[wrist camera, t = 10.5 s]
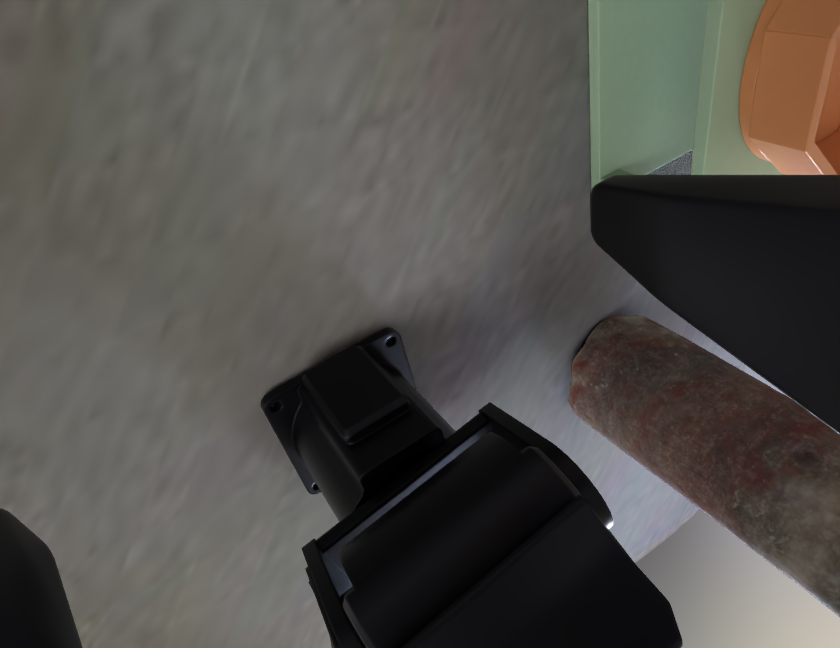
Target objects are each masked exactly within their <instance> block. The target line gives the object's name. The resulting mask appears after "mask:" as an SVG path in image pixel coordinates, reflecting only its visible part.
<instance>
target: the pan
mask: <svg viewBox="0 0 840 648" xmlns="http://www.w3.org/2000/svg"><path fill="white" fill-rule="evenodd" d="M739 118H740V127H741V131H742V135H743V138H744V140H745V143H746V145H747V146H748V148H749V149H750V151H751V152H752V153H753V154H754V155H756V156H757V157H758V158H761V159H763V160H766V161H769V162H771V163H772V164H773V165H774V166H775V167H776V168H777V170H778V171H779V172H780V173H782V174H785V175H840V0H767V1H766V3H765V5H764V7H763V9H762V12H761V14H760V17H759V19H758V22H757V24H756V27H755V29H754V32H753V35H752V38H751V42H750V45H749V48H748V51H747V55H746V59H745V63H744V68H743V73H742V79H741V85H740V95H739Z"/></svg>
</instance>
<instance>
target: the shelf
mask: <svg viewBox="0 0 840 648" xmlns="http://www.w3.org/2000/svg"><path fill="white" fill-rule="evenodd" d="M766 1H767V0H588V24H589V84H590V144H591V191H592V188H593V187H594V186H595V185H596V184H598V183H600V182H601V181H603V180H605V179H607V178H609V177H611V176H614V175H647V174H649V173H650V172H652V171H654V170H656V169H658V168H660V167H661V166H663V165H665V164H667V163H669V162H670V161H672V160H674V159H676V158H678V157H679V156H681V155H683V154H685V153H687V152H689V151H690V150H692V149H693V155H692V165H691V175H785V174H782V173H780V172H779V171H778V170H777V168H776V167H775V166H774V165H773V164H772V163H771V162H769V161H766V160H763V159H761V158H758V157H757V156H756V155H754V154H753V153H752V152H751V151H750V149H749V148H748V146H747V145H746V143H745V140H744V138H743V135H742V131H741V127H740V118H739V95H740V85H741V79H742V73H743V68H744V63H745V59H746V55H747V51H748V48H749V45H750V42H751V38H752V35H753V32H754V29H755V27H756V24H757V22H758V19H759V17H760V14H761V12H762V9H763V7H764V5H765V3H766Z"/></svg>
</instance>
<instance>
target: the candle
mask: <svg viewBox="0 0 840 648" xmlns="http://www.w3.org/2000/svg"><path fill="white" fill-rule="evenodd" d="M571 376H572V380H571V384H570V394H569V404H570V405H571V407H572V410H573V412H574V413H575V414H576V415H577V416H578V417H579V418H580V419H582V420H583V421H584V422H585V423H587V424H588V425H589V426H591V427H592V428H593V429H595V430H596V431H597V432H599V433H600V434H601V435H603V436H604V437H605V438H607V439H608V440H609V441H610V442H612V443H613V444H614V445H616V446H617V447H618V448H619V449H621V450H622V451H623V452H625V453H626V454H627V455H629V456H630V457H631V458H633V459H634V460H635V461H637V462H638V463H639V464H641V465H642V466H643V467H645V468H646V469H647V470H649V471H650V472H651V473H653V474H654V475H655V476H657V477H658V478H659V479H661V480H662V481H664V482H665V483H666V484H668V485H669V486H671V487H672V488H673V489H674V490H676V491H677V492H678V493H680V494H681V495H682V496H683V497H685V498H686V499H687V500H688V501H690V502H691V503H692V504H694V505H695V506H696V507H698V508H699V509H701V510H702V511H703V512H705V513H706V514H707V515H709V516H710V517H711V518H713V519H714V520H715V521H717V522H718V523H719V524H720V525H722V526H723V527H724V528H726V529H727V530H728V531H729V532H731V533H732V534H733V535H734V536H736V537H737V538H738V539H740V540H741V541H742V542H743V543H745V544H746V545H747V546H749V547H750V548H751V549H752V550H754V551H755V552H757V553H758V554H759V555H760V556H762V557H763V558H764V559H766V560H767V561H768V562H769V563H771V564H772V565H773V566H775V567H776V568H777V569H778V570H780V571H781V572H783V573H784V574H785V575H786V576H788V577H789V578H791V579H792V580H794V581H795V582H796V583H797V584H799V585H800V586H801V587H803V588H804V589H805V590H806V591H808V592H809V593H810V594H811V595H813V596H814V597H815V598H816V599H818V600H819V601H820V602H821V603H823V604H824V605H825V606H826V607H828V608H829V609H830V610H831V611H833V612H834V613H835V614H837V615H838V616H839V617H840V434H839V433H837V432H836V431H835V430H833V429H832V428H830V427H829V426H828V425H826V424H825V423H824V422H822V421H821V420H820V419H818V418H817V417H816V416H814V415H813V414H811V413H810V412H809V411H807V410H806V409H805V408H803V407H802V406H801V405H799V404H798V403H797V402H795V401H794V400H792V399H790V398H789V397H787V396H786V395H784V394H782V393H780V392H778V391H776V390H774V389H773V388H771V387H770V386H768V385H766V384H764V383H763V382H761V381H759V380H757V379H755V378H754V377H752V376H750V375H748V374H747V373H745V372H743V371H742V370H740V369H738V368H736V367H735V366H733V365H731V364H729V363H727V362H726V361H724V360H722V359H721V358H719V357H717V356H716V355H714V354H712V353H710V352H708V351H707V350H705V349H703V348H701V347H699V346H698V345H696V344H694V343H692V342H691V341H689V340H687V339H686V338H684V337H682V336H680V335H678V334H676V333H674V332H673V331H671V330H669V329H667V328H665V327H663V326H661V325H659V324H658V323H656V322H654V321H652V320H650V319H648V318H646V317H642V316H628V317H623V316H622V317H615V316H614V317H611V318H609V319H606V320H604V321H602V322H601V323H600V324H599V325H597V326H596V328H595V329H594V330H593V331H592V332H591V334H590V335H589V337H588V338H587V340H586V342H585V345H584V346H583V347H582V349H581V350H580V351H579V352H578V354H577V355H576V357H575V358H574V360H573V362H572V368H571Z"/></svg>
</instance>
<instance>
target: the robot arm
mask: <svg viewBox="0 0 840 648" xmlns="http://www.w3.org/2000/svg"><path fill="white" fill-rule="evenodd" d="M590 218H591V234H592V237H593V239H594V241H595V242H596V243H597V245H598V246H599V247H601V248H602V249H603V250H604V251H605V252H606V253H607V254H608V255H609V256H610V257H612V258H613V259H614V260H615V261H616V262H617V263H618V264H619V265H620V266H621V267H623V268H624V269H625V270H626V271H627V272H628V273H629V274H630V275H631V276H632V277H634V278H635V279H636V280H637V281H638V282H639V283H640V284H641V285H642V286H643V287H645V288H646V289H647V290H648V291H649V292H650V293H651V294H652V295H654V296H655V297H656V298H657V299H658V300H659V301H661V302H662V303H663V304H664V305H666V306H667V307H668V308H669V309H671V310H672V311H673V312H675V313H676V314H678V315H679V316H680V317H682V318H683V319H684V320H686V321H687V322H688V323H690V324H691V325H692V326H694V327H695V328H696V329H698V330H699V331H701V332H702V333H703V334H705V335H706V336H707V337H709V338H710V339H711V340H713V341H714V342H715V343H717V344H718V345H719V346H721V347H722V348H724V349H725V350H726V351H728V352H729V353H730V354H732V355H733V356H734V357H736V358H737V359H738V360H740V361H741V362H742V363H744V364H745V365H747V366H748V367H749V368H751V369H752V370H753V371H755V372H756V373H757V374H759V375H760V376H761V377H763V378H764V379H765V380H767V381H768V382H770V383H771V384H772V385H774V386H775V387H776V388H778V389H779V390H781V391H782V392H783V393H785V394H786V395H787V396H788V397H790V398H791V399H793V400H794V401H795V402H797V403H798V404H799V405H801V406H802V407H803V408H805V409H806V410H807V411H809V412H810V413H811V414H813V415H814V416H816V417H817V418H818V419H820V420H821V421H822V422H824V423H825V424H826V425H828V426H829V427H830V428H832V429H833V430H835V431H836V432H837V433H839V434H840V175H614V176H611V177H609V178H607V179H605V180H603V181H601V182H600V183H598V184H596V185H595V186H594V187H593V188H592V191H591V193H590ZM389 337H391V339H390V340H389V341H388V342H386V341H387V339H388V338H389ZM274 402H278V403H277V404H276V405H275V406H272V407H270V406H271V405H272V404H273V403H274ZM261 407H262V409H263V411H264V413H265V415H266V417H267V418H268V420H269V422H270V424H271V426H272V428H273V429H274V431H275V433H276V435H277V437H278V438H279V440H280V442H281V444H282V446H283V447H284V449H285V451H286V453H287V455H288V457H289V458H290V460H291V462H292V464H293V466H294V467H295V469H296V471H297V473H298V475H299V477H300V478H301V480H302V482H303V484H304V486H305V487H306V489H307V491H308V492H309V493H310V494H317V493H320V492H322V494H323V495H324V497H325V499H326V500H327V502H328V504H329V505H330V507H331V509H332V510H333V512H334V514H335V515H336V517H337V519H338V520H339V523H338V524H336V525H335V526H334V527H332V528H331V529H330V530H329V531H327V532H326V533H325V534H323V535H322V536H321V537H320V538H318V539H317V540H316V539H313V540H312V541H310V542H309V543H308V544H306V545H305V546H304V547H303V548H302V551H303V554H304V556H305V559H306V562H307V564H308V567H307V568H306V572H307V575H308V577H309V580H310V581H309V584H310V586H311V588H312V590H313V592H314V594H315V597H316V599H317V602H318V605H319V607H320V610H321V613H322V616H323V618H324V621H325V624H326V627H327V629H328V632H329V635H330V640H331V646H332V648H682V638H681V635H680V632H679V629H678V626H677V623H676V620H675V617H674V614H673V611H672V608H671V605H670V603H669V602H668V600H667V599H666V598H665V597H664V595H663V594H662V593H661V592H660V591H659V590H658V589H657V588H656V587H655V585H654V584H653V583H652V582H651V581H650V580H649V579H648V578H647V577H646V575H645V574H643V572H642V571H641V570H640V569H639V568H638V567H637V565H636V564H635V563H634V562H633V560H632V559H631V558H630V557H629V555H628V554H627V553H626V551H625V550H624V549H623V548H622V546H621V545H620V544H619V542H618V541H617V540H616V538H615V537H614V536H613V535H612V533H611V532H610V531H609V528H610V527H611V526H612V525H613V518H612V515H611V512H610V510H609V508H608V506H607V504H606V502H605V501H604V499H603V498H602V496H601V495H600V493H599V492H598V490H597V489H596V488H595V486H594V485H593V484H592V482H591V481H590V480H589V478H588V477H587V476H586V475H585V474H584V473H583V471H582V470H581V469H580V468H579V467H578V466H577V465H576V464H575V463H574V462H573V461H572V460H571V459H570V458H569V457H568V456H567V455H566V454H565V453H564V452H563V451H562V450H560V449H559V448H558V447H557V446H555V445H554V444H553V443H551V442H550V441H548V440H547V439H545V438H544V437H542V436H541V435H539V434H538V433H536V432H535V431H533V430H532V429H530V428H529V427H527V426H525V425H524V424H522V423H521V422H519V421H518V420H516V419H515V418H513V417H512V416H510V415H509V414H507V413H506V412H504V411H503V410H501V409H499V408H498V407H496V406H495V405H493V404H492V403H490V402H489V403H488V404H487V405H485V406H484V407H483V408H481V409H480V410H479V414H478V415H476V416H475V417H474V418H472V419H471V420H470V421H469V422H467V423H466V424H465V425H463V426H462V427H461V428H460V429H458V430H457V431H455V430H454V429H453V428H452V427H451V426H450V425H449V424H448V423H447V422H446V421H445V420H444V419H443V418H442V417H441V416H440V414H439V413H438V412H437V411H436V410H435V409H434V408H433V407H432V406H431V405H430V404H429V403H428V402H427V401H426V400H425V399H424V398H423V397H422V396H421V395H420V393H419V392H418V391H417V390H416V387H415V384H414V380H413V377H412V373H411V370H410V367H409V363H408V360H407V356H406V353H405V350H404V346H403V343H402V339H401V336H400V335H399V333H398V332H397V331H396V330H395V329H393V328H389V327H388V328H385V329H383V330H381V331H379V332H377V333H375V334H374V335H372V336H370V337H368V338H366V339H365V340H363V341H361V342H359V343H358V344H356V345H354V346H352V347H350V348H349V349H347V350H345V351H343V352H341V353H340V354H338V355H336V356H334V357H332V358H331V359H329V360H327V361H325V362H323V363H322V364H320V365H318V366H316V367H314V368H313V369H311V370H309V371H307V372H305V373H304V374H302V375H300V376H298V377H296V378H295V379H293V380H291V381H289V382H287V383H286V384H284V385H282V386H280V387H278V388H277V389H275V390H273V391H271V392H270V393H268V394H267V395H265V396H264V397H263V399H262V401H261ZM0 648H82V645H81V641H80V638H79V635H78V632H77V629H76V625H75V622H74V619H73V616H72V613H71V610H70V606H69V603H68V600H67V597H66V594H65V591H64V587H63V584H62V581H61V578H60V575H59V571H58V568H57V565H56V562H55V559H54V557H53V555H52V553H51V551H50V549H49V548H48V546H47V545H46V544H45V543H44V542H43V541H42V540H41V539H40V538H38V537H37V536H36V535H35V534H34V533H33V532H32V531H30V530H29V529H28V528H27V527H26V526H25V525H24V524H22V523H21V522H20V521H19V520H18V519H17V518H16V517H14V516H13V515H12V514H11V513H10V512H8V511H6V510H4V509H0Z"/></svg>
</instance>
